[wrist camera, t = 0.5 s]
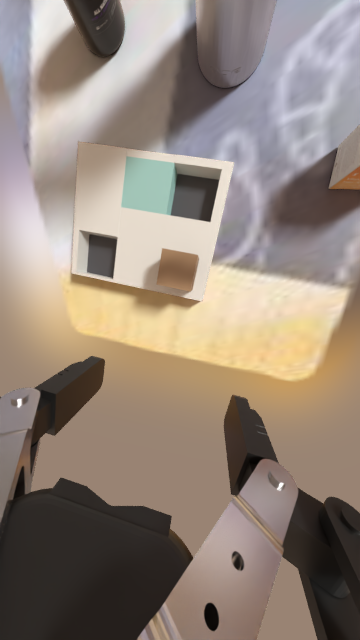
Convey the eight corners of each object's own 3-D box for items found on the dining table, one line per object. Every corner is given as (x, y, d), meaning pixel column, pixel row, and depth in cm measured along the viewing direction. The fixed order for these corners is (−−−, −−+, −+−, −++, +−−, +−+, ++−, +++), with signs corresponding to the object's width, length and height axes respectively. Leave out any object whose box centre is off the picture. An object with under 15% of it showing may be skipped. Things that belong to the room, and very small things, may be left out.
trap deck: (90, 154, 30) (78, 141, 27) (231, 174, 28) (234, 162, 25) (82, 274, 35) (71, 273, 32) (202, 299, 33) (202, 301, 30)
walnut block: (168, 253, 29) (162, 248, 25) (199, 258, 28) (197, 254, 24) (163, 284, 30) (156, 284, 26) (192, 290, 30) (190, 291, 25)
